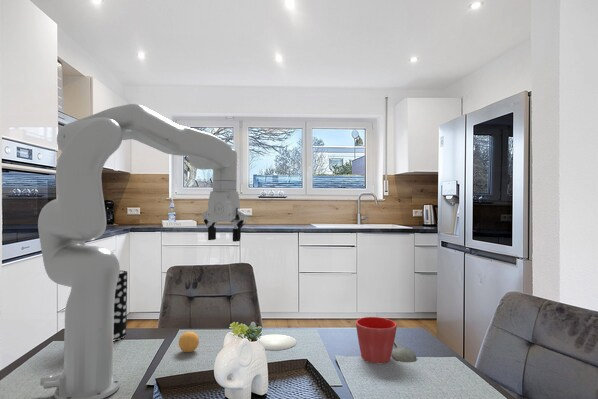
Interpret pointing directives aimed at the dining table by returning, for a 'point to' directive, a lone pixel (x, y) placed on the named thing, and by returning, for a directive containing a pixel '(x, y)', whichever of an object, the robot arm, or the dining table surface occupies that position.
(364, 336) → the flower pot
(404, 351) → the soupspoon
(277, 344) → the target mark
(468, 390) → the dining table surface
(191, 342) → the ball
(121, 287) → the white-spotted black cylinder
